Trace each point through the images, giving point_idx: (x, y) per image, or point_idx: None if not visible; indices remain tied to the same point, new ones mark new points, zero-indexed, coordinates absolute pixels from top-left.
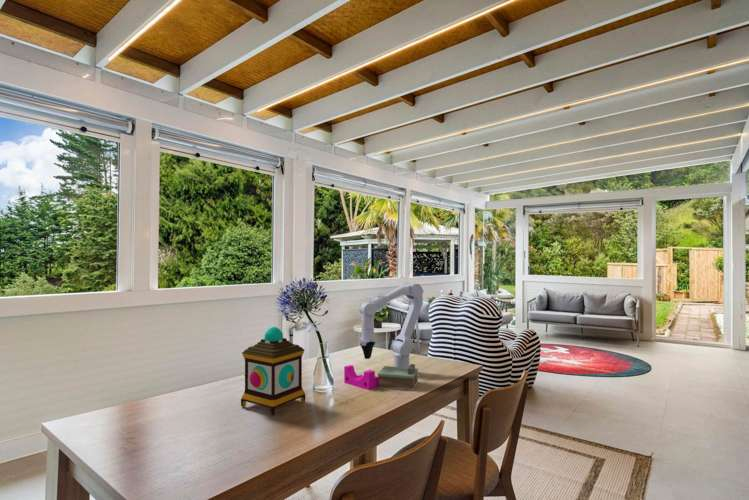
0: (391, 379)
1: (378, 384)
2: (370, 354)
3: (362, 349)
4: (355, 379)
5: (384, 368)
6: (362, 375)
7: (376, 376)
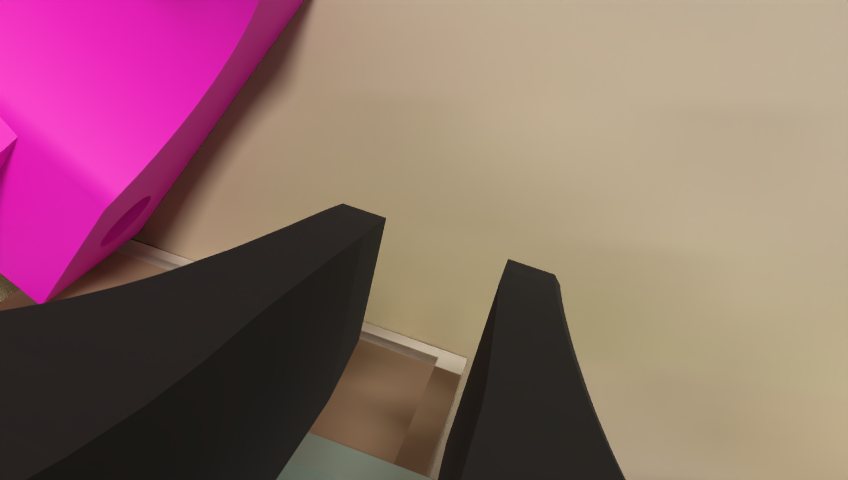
0: None
1: (118, 245)
2: (444, 464)
3: (9, 310)
4: None
5: None
6: (248, 17)
7: (46, 277)
